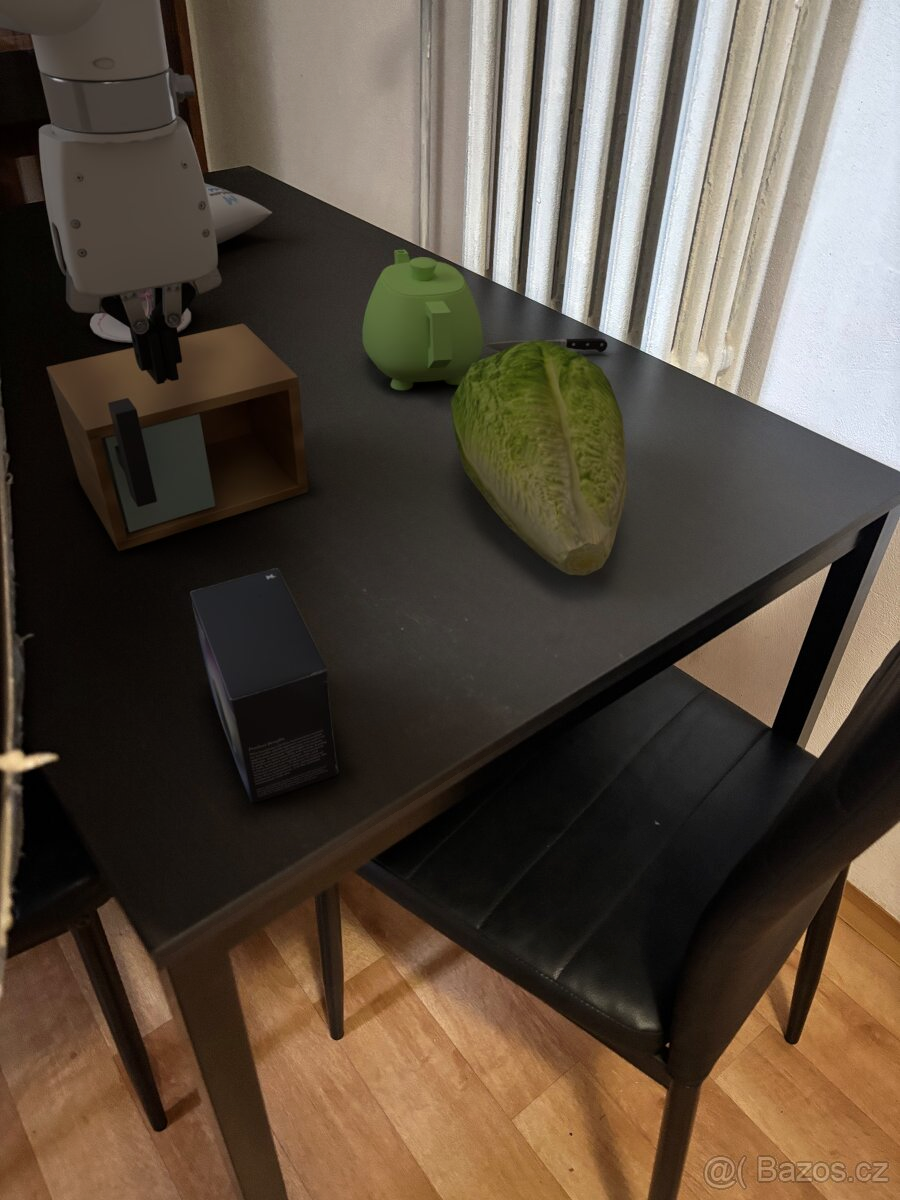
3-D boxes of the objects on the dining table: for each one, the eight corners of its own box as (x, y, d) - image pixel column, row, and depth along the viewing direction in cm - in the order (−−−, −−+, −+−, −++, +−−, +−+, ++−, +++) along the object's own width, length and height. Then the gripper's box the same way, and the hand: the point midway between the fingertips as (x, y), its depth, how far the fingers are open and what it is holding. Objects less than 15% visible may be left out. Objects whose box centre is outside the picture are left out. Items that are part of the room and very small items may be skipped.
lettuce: (469, 552, 69) (653, 464, 65) (417, 363, 84) (563, 284, 81) (538, 642, 79) (699, 571, 76) (481, 460, 95) (612, 393, 91)
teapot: (349, 336, 111) (344, 231, 102) (455, 326, 113) (459, 223, 105) (382, 418, 96) (379, 303, 88) (502, 405, 99) (511, 293, 91)
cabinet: (118, 551, 78) (85, 430, 70) (79, 483, 86) (46, 366, 78) (308, 492, 86) (298, 376, 78) (257, 434, 93) (243, 323, 85)
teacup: (75, 317, 112) (62, 268, 108) (165, 295, 118) (156, 247, 114) (115, 354, 105) (103, 302, 101) (209, 328, 111) (201, 278, 107)
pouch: (67, 187, 125) (161, 215, 116) (176, 161, 137) (270, 184, 128) (80, 246, 130) (172, 277, 121) (185, 216, 142) (276, 242, 133)
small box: (207, 697, 66) (183, 587, 59) (293, 671, 68) (280, 563, 61) (247, 808, 59) (225, 698, 52) (342, 775, 61) (333, 666, 54)
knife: (483, 358, 107) (484, 342, 106) (483, 355, 108) (484, 339, 106) (605, 356, 109) (608, 340, 107) (604, 353, 109) (606, 337, 108)
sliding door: (142, 555, 76) (107, 416, 67) (127, 529, 79) (91, 391, 70) (231, 527, 79) (208, 390, 70) (213, 503, 82) (189, 368, 73)
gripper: (205, 80, 62) (236, 335, 74) (-30, 100, 55) (46, 376, 67) (248, 105, 57) (274, 373, 69) (-3, 129, 51) (73, 421, 63)
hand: (161, 374), depth 68 cm, fingers closed
